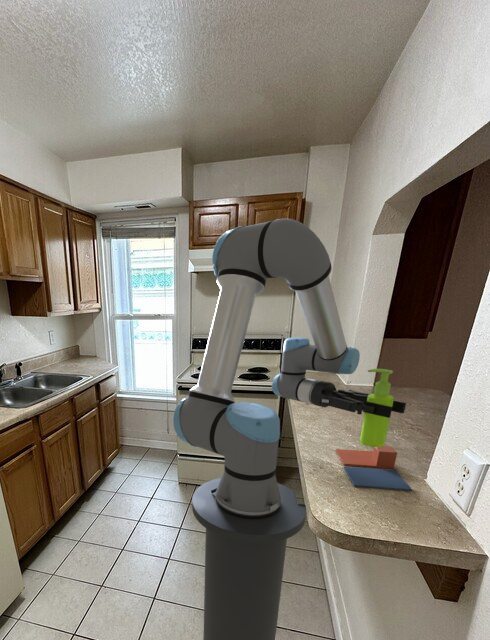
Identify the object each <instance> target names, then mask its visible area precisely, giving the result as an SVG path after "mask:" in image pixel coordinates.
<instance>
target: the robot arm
mask: <svg viewBox="0 0 490 640" xmlns="http://www.w3.org/2000/svg"><path fill="white" fill-rule="evenodd" d="M211 264H213V267H212V270H213V273H214V275H215V277H216V283H217V285H218V287H219V289H220V291H219V296H218V299H217V304H216V308H215V312H214V316H213V319H212V322H211V323H212V324H211V327H210V331H209V336H208V339H207V344H206V348H205V352H204V355H203V360H202V364H201V368H200V372H199V376H198V380H197V384H196V385H195V386H193V387H192V388H190V389H189V392H188V396H187V397H185V398H183V399H181V400H180V401H179V403H178V404H176V406H175V408H174V412H173V418H172V419H173V420H172V422H173V423H172V425H173V429H174V431H175V433H176V436H177V437H178V438H179V440H181V441H182V442H183V443H186V444H189V445H190V446H191V447H197V448H199V449H203V450H206V451H208V452H211V453H214V454H217V455H220V456H223V457H224V467H223V473H222V475H221V477H220V478H221V480H220V482H219V485H218V487H217V488H216V489H213V490H211V493H214V492H216V503H217V505H218V506H219V508H221V509H222V510H223V511H225V512H226V513H228V514H230V515H233V516H236V517H240V518H245V519H262V518H267V517H270V516H272V515H274V514H276V513H277V512H278V511H279V509H280V506H281V495H280V491H279V488H278V484H277V483H278V481H277V480H278V479H277V475H276V473H277V472H276V471H277V462H278V451H279V443H280V437H281V420H280V417H279V415H278V414H277V412H276V411H274V410H273V409H272V408H270V407H269V406H266V405H262V404H260V403H255V402H247V401H239V402H236V400H235V398H234V396H233V394H232V390H233V386H234V381H235V378H236V374H237V370H238V367H239V363H240V358H241V355H242V351H243V347H244V343H245V340H246V335H247V331H248V327H249V323H250V320H251V316H252V311H253V307H254V304H255V301H256V300H255V299H256V297H257V296H259V295H260V294H262V293H263V292H264V290H265V287H266V283H267V280H268V279H275V278H281V279H284V280H285V281H286V283H287V286H288V288H289V289H290V290H292V291H293V292H295V294H296V297H297V299H298V302H299V305H300V308H301V310H302V313H303V316H304V318H305V321H306V324H307V327H308V329H309V332H310V335H311V338H312V341H313V343H314V344H310V339H309V338H308V337H288V338H286V339H285V340H284V342H283V349H282V352H281V353H282V358H281V369H280V373H279V374H277V375H275V377H274V378H273V381H272V382H271V390H272V392H273V393H274V395H276V396H277V397H281V398H282V399H288V400H292V401H298V402H302V403H305V405H307V406H309V405H314V406H316V407H321V408H328V407H331V408H336V409H339V410H343V411H346V412H351V413H356V414H357V415H362V413H365V412H366V413H370V414H374V415H378V416H383V417H387V418H390V419H391V415H392V412H394V413H399V414H404V413H405V411H406V406H407V402H405V401H399V400H394V401H393V405H392V407H390V406H386V405H381V404H376V403H371V402H367V398H368V395H369V394H370V393H367V392H362V391H356V390H352V389H348V390H345V389H337V388H336V385H335V383H333V382H330V381H324V380H319V379H313V378H307V377H306V373H307V371H313V372H321V373H328V374H337V375H352V374H354V373H355V372H356V370H357V368H358V366H359V363H360V357H361V354H360V351H359V349H358V348H356V347H351V346H348V344H347V342H346V338H345V334H344V331H343V326H342V322H341V318H340V315H339V311H338V307H337V302H336V299H335V296H334V295H335V294H334V292H333V287H332V284H331V280H330V275H331V273H332V269H333V268H332V267H333V266H332V263H331V258H330V255H329V252H328V250H327V249H326V247H325V245H324V243H323V242H322V240H321V239H320V237H318V235H317V234H316V233H315V232H314V231H313V230H312V229H311V228H310V227H308V226H307V225H305V224H304V223H303V222H300V221H298V220H296V219H293V218H277V219H275V220H269V221H265V222H260V223H256V224H251V225H240V226H237V227H235V228H233V229H229V230H226V231H225V232H224V233H222V235H220V236H219V238H218V239H217V241H216V243H215V245H214V247H213V251H212V256H211Z"/></svg>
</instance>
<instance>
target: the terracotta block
mask: <svg viewBox="0 0 490 640" xmlns="http://www.w3.org/2000/svg"><path fill="white" fill-rule="evenodd" d="M372 451H373V454H372V459H371V460H372V461H373V462H374V464H375V465H376V466H382V467H395V464H396V459H397V456H398V452H397V451H396V450H395V449H394V448H393V447H392V445H391V446H390V445H388V446H387V445H384V446H383V447H373V449H372Z"/></svg>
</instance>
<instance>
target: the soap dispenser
mask: <svg viewBox="0 0 490 640" xmlns="http://www.w3.org/2000/svg"><path fill="white" fill-rule="evenodd" d="M367 372H368V373H380V378H379V380H378V381H376V382H375V385H374V390H373V393H368V394H369V395H368V398H367V402H371V403H376V404H381V405H386V406H390V407H392V405H393V401H395V397H394V396H393V395H390V391H391V386H392V383H391V382H390V381H389V376H390V375H391V374H393V373H394V370H391V369H386V368H371V369H368V370H367ZM363 414H364V415H363V420H362V425H361V431H360V432H361V433H360V438H359V443H360V444H361V445H363V446H366V447H370V448H374V447H383V446H385V444H386V438H387V434H388V429H389V425H390V419H391V417H390V418H387V417H383V416H378V415H374V414H370V413H366V412H364V413H363Z"/></svg>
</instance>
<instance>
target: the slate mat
mask: <svg viewBox="0 0 490 640" xmlns="http://www.w3.org/2000/svg"><path fill="white" fill-rule="evenodd" d="M343 469H344V471H345V472H346V474H347V476H348V478H349V480H350V481H351V483H352V485H353V486H354V487H355V488H356V487H357V488H367V489H379V490H393V491H406V492H413V489H412V488H411V486H410V485H409V484H408V482H406V480H405V479H404V478H403V477H402V476H401V475H400V474H399V473H398V471H397V470H396V469H387V468H373V467H359V466H343Z"/></svg>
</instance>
